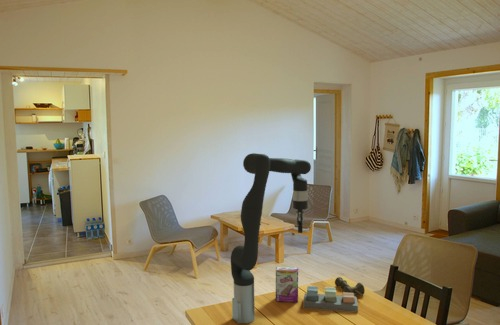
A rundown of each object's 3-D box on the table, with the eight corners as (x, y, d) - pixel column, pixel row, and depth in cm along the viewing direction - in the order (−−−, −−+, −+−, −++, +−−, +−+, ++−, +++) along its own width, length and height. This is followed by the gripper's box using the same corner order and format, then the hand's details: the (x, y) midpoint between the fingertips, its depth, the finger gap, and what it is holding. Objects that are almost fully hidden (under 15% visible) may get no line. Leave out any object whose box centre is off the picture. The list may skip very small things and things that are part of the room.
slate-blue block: (317, 300, 192) (317, 290, 191) (307, 300, 193) (307, 290, 192) (317, 296, 197) (317, 286, 196) (307, 295, 198) (307, 285, 197)
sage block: (335, 302, 190) (335, 291, 190) (324, 301, 191) (325, 291, 191) (335, 297, 195) (335, 287, 195) (325, 296, 196) (325, 286, 196)
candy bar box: (275, 302, 198) (275, 270, 196) (275, 297, 203) (275, 266, 201) (298, 302, 197) (298, 270, 195) (298, 298, 202) (298, 266, 200)
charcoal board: (357, 312, 186) (357, 305, 186) (303, 308, 191) (303, 302, 191) (356, 302, 196) (356, 296, 196) (304, 299, 201) (304, 293, 201)
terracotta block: (354, 307, 189) (354, 297, 189) (343, 306, 190) (343, 296, 189) (353, 302, 194) (353, 292, 193) (342, 302, 195) (342, 292, 194)
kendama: (345, 284, 219) (369, 298, 200) (330, 288, 215) (353, 302, 197) (345, 274, 218) (369, 287, 200) (330, 277, 215) (353, 291, 196)
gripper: (307, 201, 196) (307, 236, 198) (308, 196, 209) (308, 229, 211) (291, 201, 197) (291, 235, 199) (293, 196, 210) (293, 228, 212)
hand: (300, 232), depth 205 cm, fingers closed
